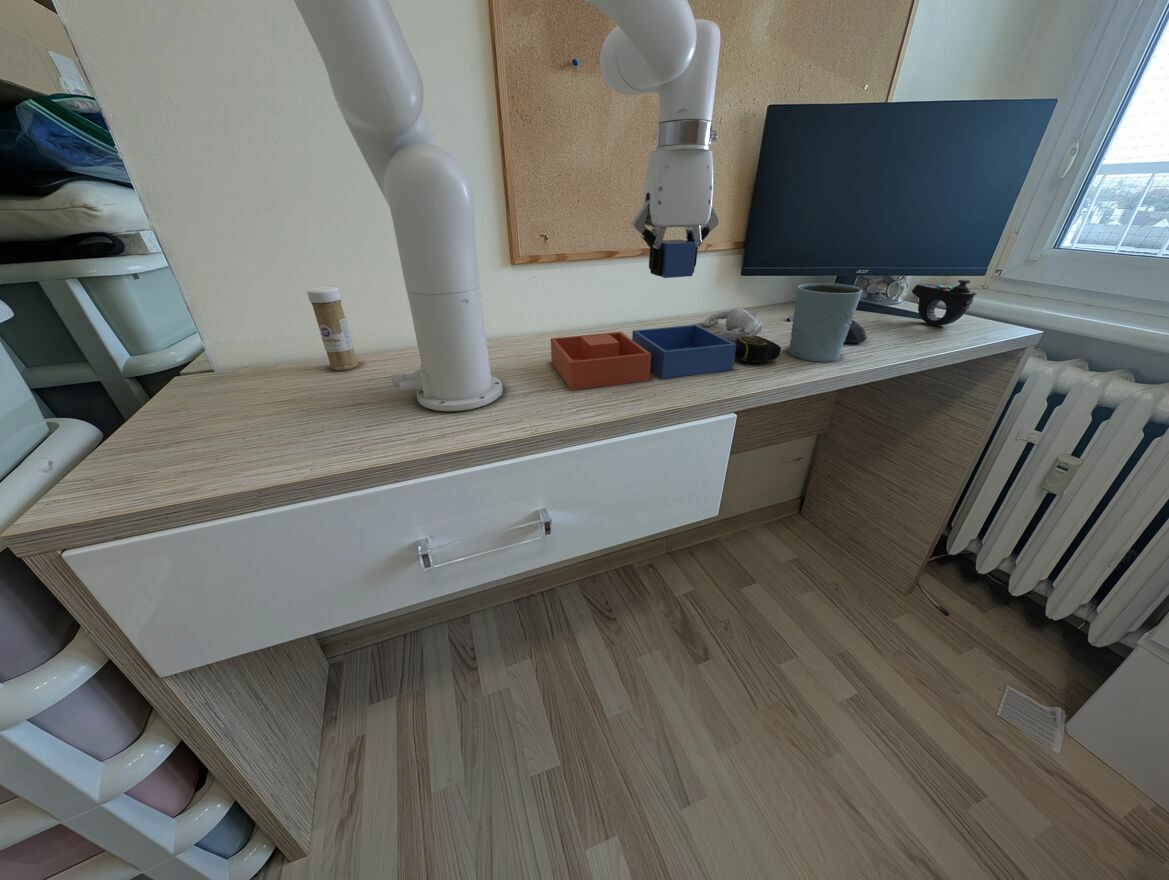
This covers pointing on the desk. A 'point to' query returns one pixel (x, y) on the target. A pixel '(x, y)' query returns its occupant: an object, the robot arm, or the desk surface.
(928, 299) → the controller
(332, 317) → the sprinkles bottle
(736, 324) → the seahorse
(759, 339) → the tape measure
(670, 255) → the blue block
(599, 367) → the terracotta bin
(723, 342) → the blue bin
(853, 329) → the gaming mouse
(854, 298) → the grey-green cup
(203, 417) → the desk surface
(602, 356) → the terracotta block
